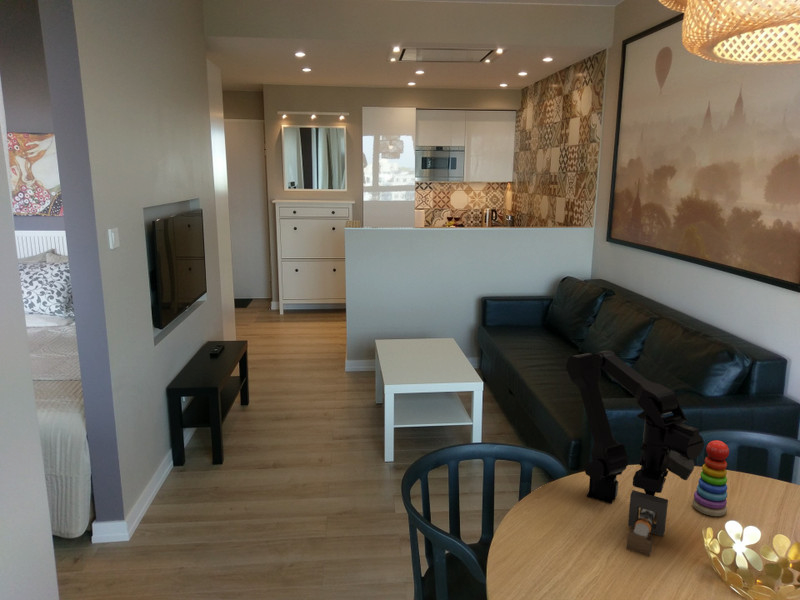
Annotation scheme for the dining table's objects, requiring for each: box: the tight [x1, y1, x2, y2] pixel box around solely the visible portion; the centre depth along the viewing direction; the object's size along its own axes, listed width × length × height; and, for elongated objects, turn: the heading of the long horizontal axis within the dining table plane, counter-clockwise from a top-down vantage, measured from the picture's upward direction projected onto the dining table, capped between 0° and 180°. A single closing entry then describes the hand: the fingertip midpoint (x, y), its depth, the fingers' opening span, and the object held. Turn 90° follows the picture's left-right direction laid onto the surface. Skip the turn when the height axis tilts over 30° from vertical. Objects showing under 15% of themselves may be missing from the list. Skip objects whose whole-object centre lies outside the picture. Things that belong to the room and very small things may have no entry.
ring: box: [627, 489, 669, 537], centre depth 137 cm, size 2×8×8 cm, turn 57°
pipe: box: [625, 508, 657, 557], centre depth 137 cm, size 18×5×6 cm, turn 147°
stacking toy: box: [691, 440, 730, 517], centre depth 145 cm, size 8×8×19 cm
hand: (650, 499), depth 139 cm, fingers closed
